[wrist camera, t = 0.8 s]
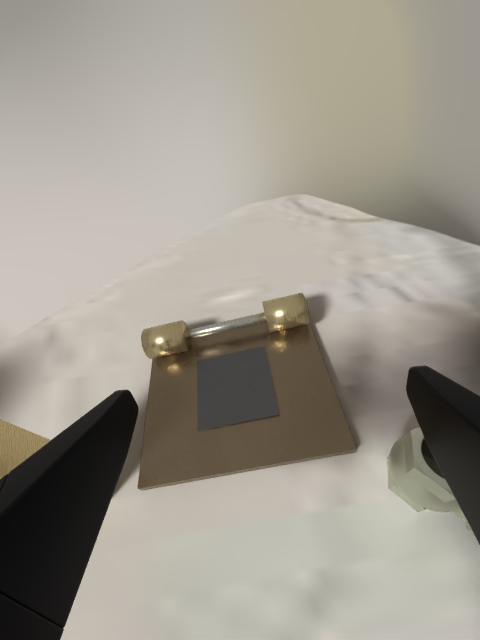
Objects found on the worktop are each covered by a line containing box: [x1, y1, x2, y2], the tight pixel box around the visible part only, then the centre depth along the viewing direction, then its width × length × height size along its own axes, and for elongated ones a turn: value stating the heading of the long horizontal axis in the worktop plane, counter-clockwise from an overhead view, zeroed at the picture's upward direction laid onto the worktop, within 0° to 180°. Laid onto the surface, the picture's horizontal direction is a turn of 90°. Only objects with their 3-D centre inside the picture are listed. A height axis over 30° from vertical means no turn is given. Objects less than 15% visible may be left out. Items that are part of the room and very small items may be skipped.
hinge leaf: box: [138, 293, 357, 490], centre depth 25 cm, size 15×17×4 cm
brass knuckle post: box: [0, 420, 51, 479], centre depth 18 cm, size 4×4×11 cm
